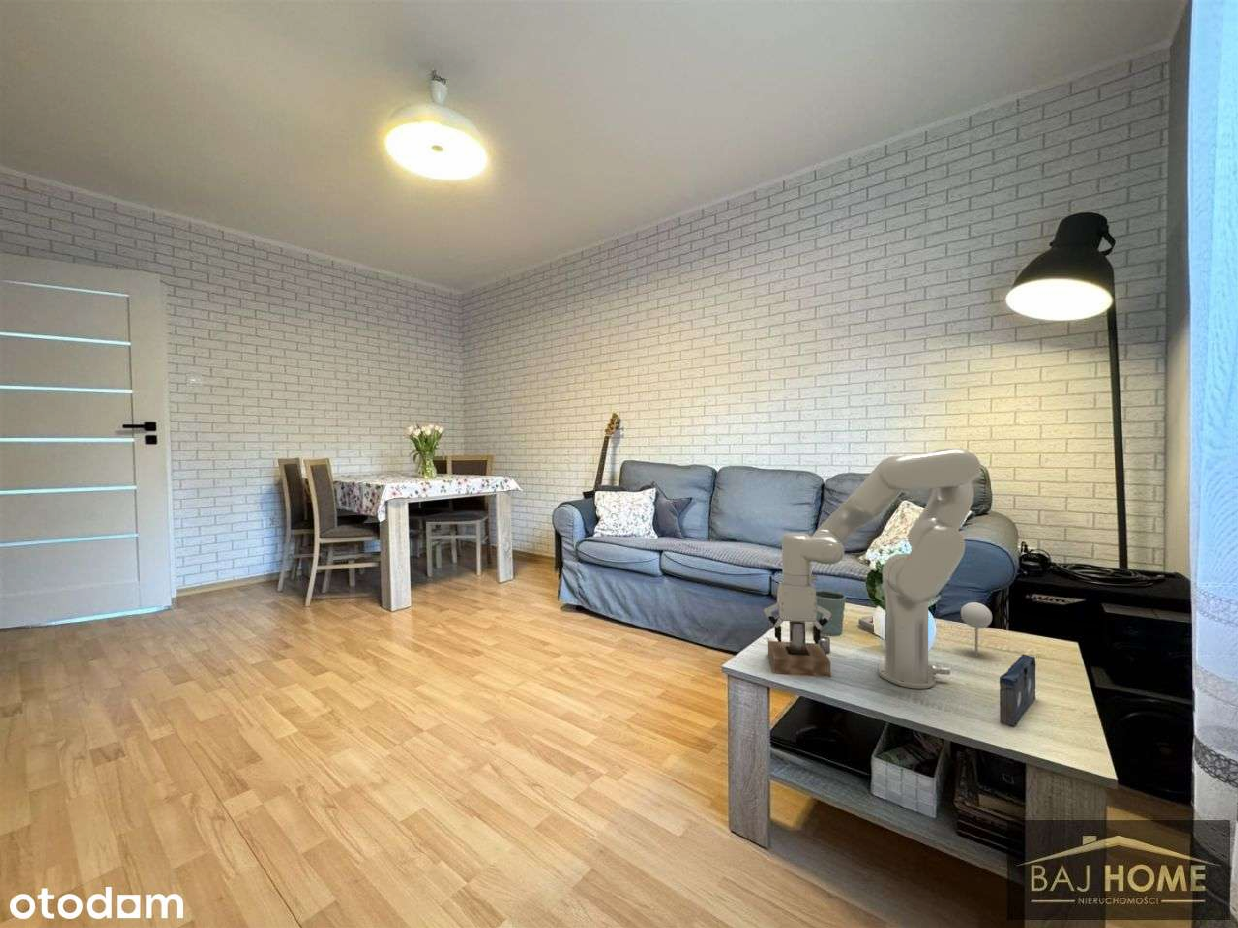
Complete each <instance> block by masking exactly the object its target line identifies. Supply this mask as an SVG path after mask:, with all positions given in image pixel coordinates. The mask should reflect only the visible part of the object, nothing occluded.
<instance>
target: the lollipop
mask: <svg viewBox="0 0 1238 928" xmlns="http://www.w3.org/2000/svg"><path fill="white" fill-rule="evenodd" d="M960 616H961V619H962V621H963V622H964V623H965V624H966V625H967V626H969V627H970V628H974V656H976V657H977V656H979V653H978V652H979V648H978V647H979V645H978V644H979V639H978V638H979V631H978V630H979V629H985V628H988V627H989V626H990V625H991V623H992V621H993V614H992V611H991V610H990V609H989V608H988V606H986V605H985V604H983V603H980V602H976V601H972V602H967V603H966V604H964V605H963V606H962V607H961V610H960Z"/></svg>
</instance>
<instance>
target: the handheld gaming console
mask: <svg viewBox="0 0 1238 928" xmlns="http://www.w3.org/2000/svg"><path fill="white" fill-rule="evenodd" d="M873 616H874V615H868V616H863V617H861V618H858V626H859V628H860V629H863V630H864V631H867V632H868V633H871V634H873V635H875V633H874V624H873Z"/></svg>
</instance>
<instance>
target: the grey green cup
mask: <svg viewBox="0 0 1238 928" xmlns="http://www.w3.org/2000/svg"><path fill="white" fill-rule="evenodd" d="M815 591H816V598H817V605H818V606H820V607H822V608H824V609H826V610H828V611H830V613H831V616H830V618H829V620H828V622H827V623H826V624H825V625H824V626H823V627H822V629H821V635H822V636H828V637H830V636H831V637H836V636H837V637H838V636H840V635H842V633H843V628H844V626H843V625H844V623H843V622H844V616H845V614H844V613H845V607H846V606H845V605H846V601H847V600H846V599H847V596H846V595H845V594H843V593H841V592H839V591H834V590H833V591H832V590H828V589H827V590H825V589H823V590H822V589H818V590H816V589H815ZM823 615H824V614H823V613H821V612H819V611H818V619H817V620H818V621H819V620H820V619H821V618H822V617H823ZM812 624H813V625H814V623H813V622H812Z"/></svg>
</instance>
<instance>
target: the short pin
mask: <svg viewBox="0 0 1238 928" xmlns="http://www.w3.org/2000/svg"><path fill="white" fill-rule="evenodd" d="M819 644H820V646H821V648H822V649H823V651H824V652H825V654H826V655H829V654H830V653H831V639H830V636H827V635H823V634H821V640H819Z"/></svg>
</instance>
